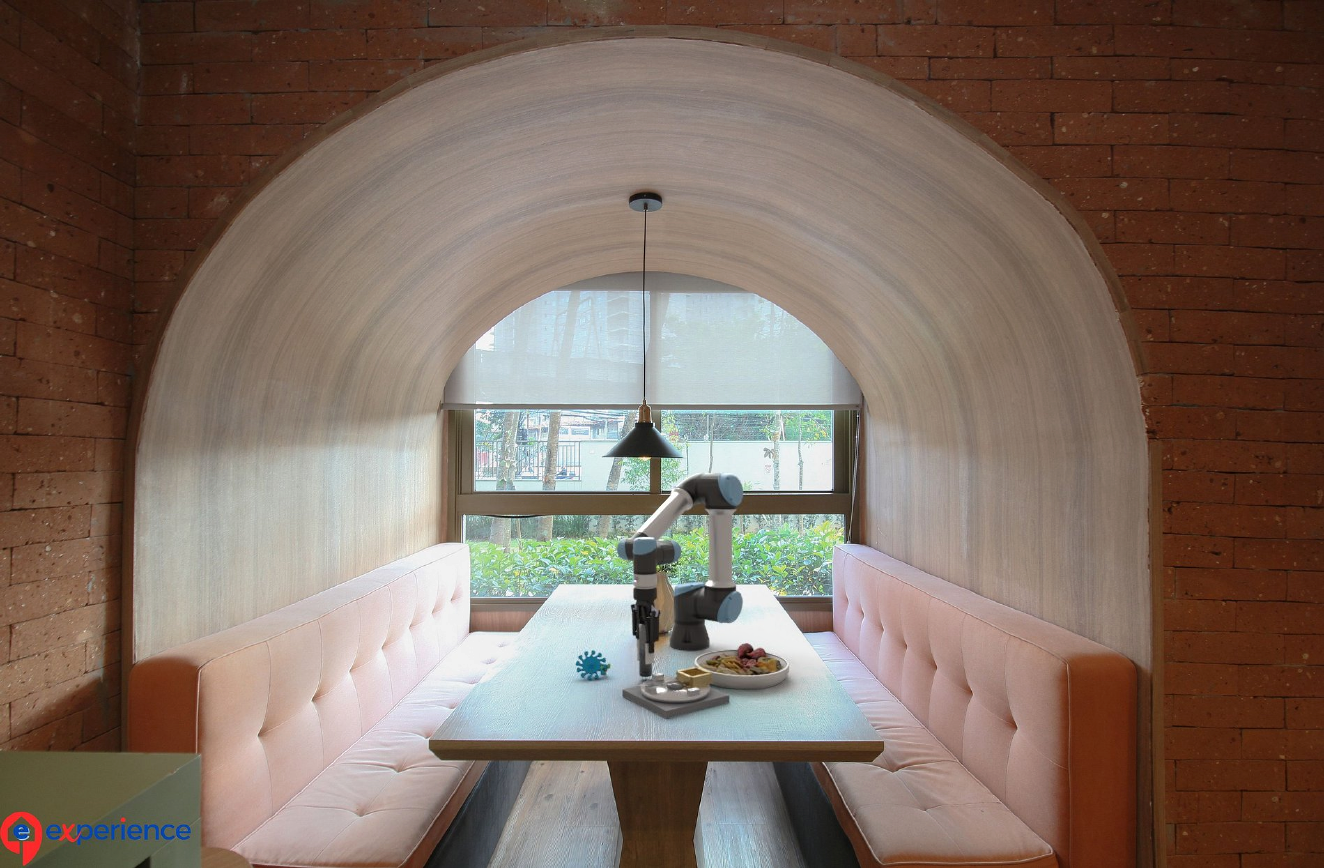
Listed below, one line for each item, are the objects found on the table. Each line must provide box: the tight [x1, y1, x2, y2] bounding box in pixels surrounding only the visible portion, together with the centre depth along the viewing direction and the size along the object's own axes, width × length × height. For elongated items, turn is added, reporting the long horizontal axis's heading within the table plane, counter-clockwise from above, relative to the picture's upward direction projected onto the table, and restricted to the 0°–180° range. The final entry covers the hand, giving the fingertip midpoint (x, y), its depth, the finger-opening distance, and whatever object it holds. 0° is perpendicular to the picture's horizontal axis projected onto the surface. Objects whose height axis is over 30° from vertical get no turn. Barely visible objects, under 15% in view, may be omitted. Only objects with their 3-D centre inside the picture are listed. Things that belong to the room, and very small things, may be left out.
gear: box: [575, 650, 611, 681], centre depth 218 cm, size 11×6×10 cm
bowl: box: [694, 642, 790, 690], centre depth 217 cm, size 30×30×8 cm
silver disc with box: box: [640, 666, 713, 703], centre depth 196 cm, size 21×20×4 cm
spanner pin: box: [638, 622, 653, 678], centre depth 214 cm, size 4×4×16 cm
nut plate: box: [621, 684, 730, 720], centre depth 196 cm, size 22×22×2 cm
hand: (645, 661), depth 214 cm, fingers closed on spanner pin, 4 cm apart
